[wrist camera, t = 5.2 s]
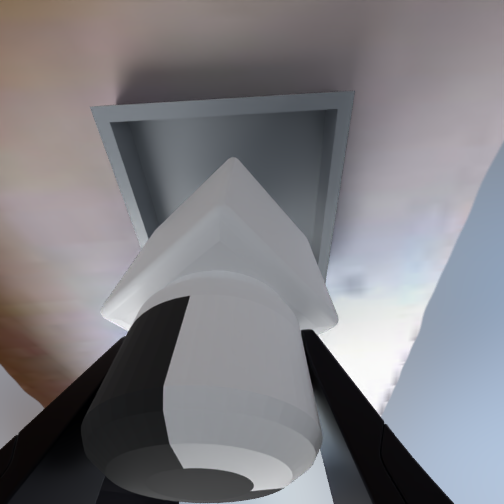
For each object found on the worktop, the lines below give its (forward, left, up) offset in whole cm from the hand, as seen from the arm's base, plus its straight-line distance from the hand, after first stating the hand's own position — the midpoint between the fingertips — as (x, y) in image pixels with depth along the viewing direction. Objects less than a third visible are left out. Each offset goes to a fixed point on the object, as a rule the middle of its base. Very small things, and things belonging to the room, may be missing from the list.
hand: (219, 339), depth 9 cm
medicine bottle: (0, 0, -8) cm, 8 cm away
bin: (0, 0, -13) cm, 13 cm away
